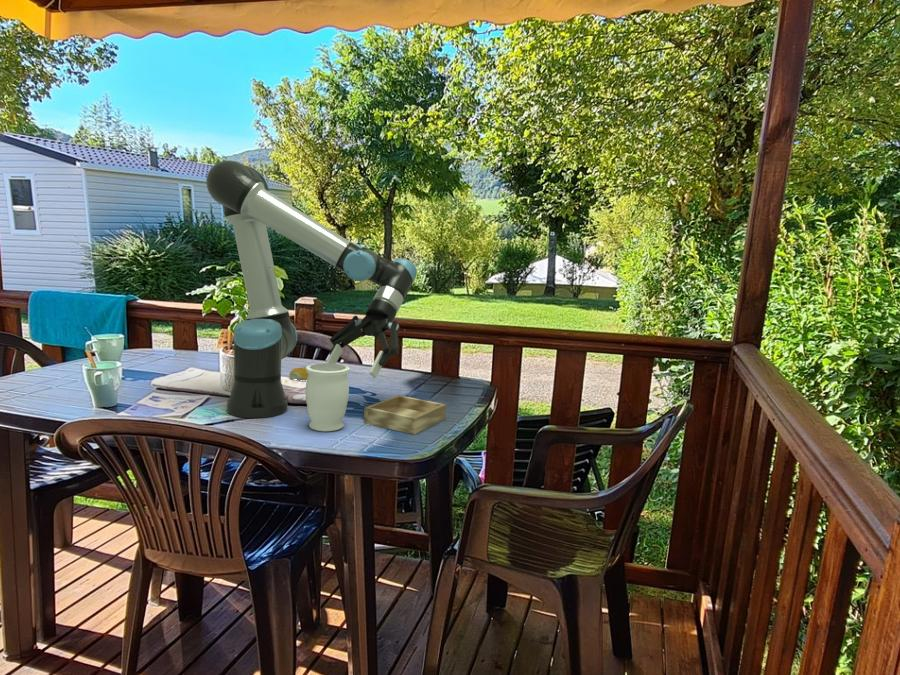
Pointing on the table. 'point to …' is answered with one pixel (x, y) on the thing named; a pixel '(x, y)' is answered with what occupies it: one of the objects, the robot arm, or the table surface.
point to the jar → (327, 395)
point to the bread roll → (299, 374)
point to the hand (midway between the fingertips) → (349, 371)
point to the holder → (405, 414)
